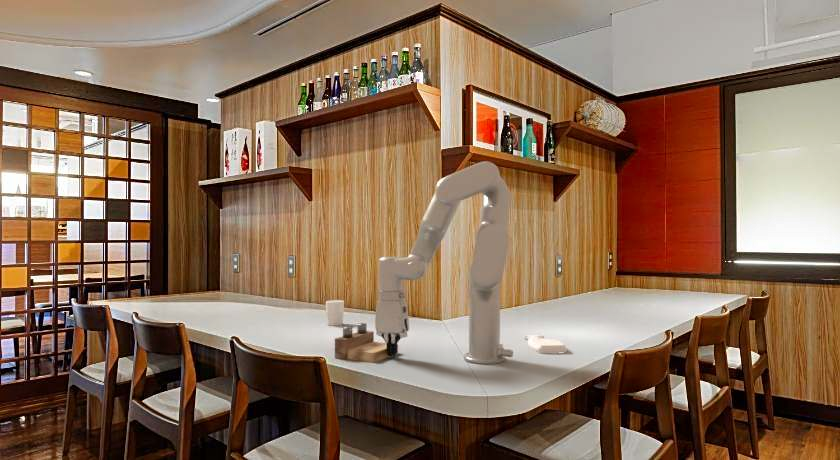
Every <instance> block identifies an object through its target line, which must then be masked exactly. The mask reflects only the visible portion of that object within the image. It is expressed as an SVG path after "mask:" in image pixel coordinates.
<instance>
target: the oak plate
mask: <svg viewBox="0 0 840 460" xmlns="http://www.w3.org/2000/svg"><path fill="white" fill-rule="evenodd" d="M398 350H399V345H398V344H397V354H399V351H398ZM389 357H391V356H387V343H385V342H378V341H374V342H370V343H367V344H363V345H360V346H357V347H354V348H351V349H348V350H347V359H346V360H352V359H353V360H354V361H359V360H361V362H367V363H377V362H379V361H382V360H384V359H387V358H389Z"/></svg>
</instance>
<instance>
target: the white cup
mask: <svg viewBox="0 0 840 460" xmlns="http://www.w3.org/2000/svg"><path fill="white" fill-rule="evenodd" d="M344 312H345V301H344V300H341V299H335V300H334V299H331V300H326V301H325V315H326V325H327V326H332V327H334V326H335V327H336V326H342V325H343V323H344V314H345V313H344Z"/></svg>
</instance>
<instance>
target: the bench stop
mask: <svg viewBox="0 0 840 460" xmlns="http://www.w3.org/2000/svg"><path fill="white" fill-rule="evenodd" d="M367 325H368V324H367V323H365V322H360V323H359V322H358V323H357V332H354V333H353V326H344V327H342V336H339V337H336V338H334V359H340V360H348V359H347V350H348V349H351V348H354V347H357V346H360V345H363V344H367V343H370V342H375V341H374V339H375V337H374V336H375V335H374V334H375V333H374V332H375V331H373V330H367Z"/></svg>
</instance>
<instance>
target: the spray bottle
mask: <svg viewBox="0 0 840 460" xmlns="http://www.w3.org/2000/svg"><path fill="white" fill-rule="evenodd" d="M526 339H527V345H528V348H530V349H531V350H532V349H533V350H532V351H534V350H535V352H536V353H538V352H539V353H538V354H541V353H559V352H566V353H567V351H568V350H567V347H566V345H565V344H564V343H563V342H562V341H559V340H558V339H552V338H551V339H549V338H545V335H539V334H535V335H533V334H532V335H531V334H530V335H529V334H528V335H524V340H526ZM559 354H560V353H559Z"/></svg>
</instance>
